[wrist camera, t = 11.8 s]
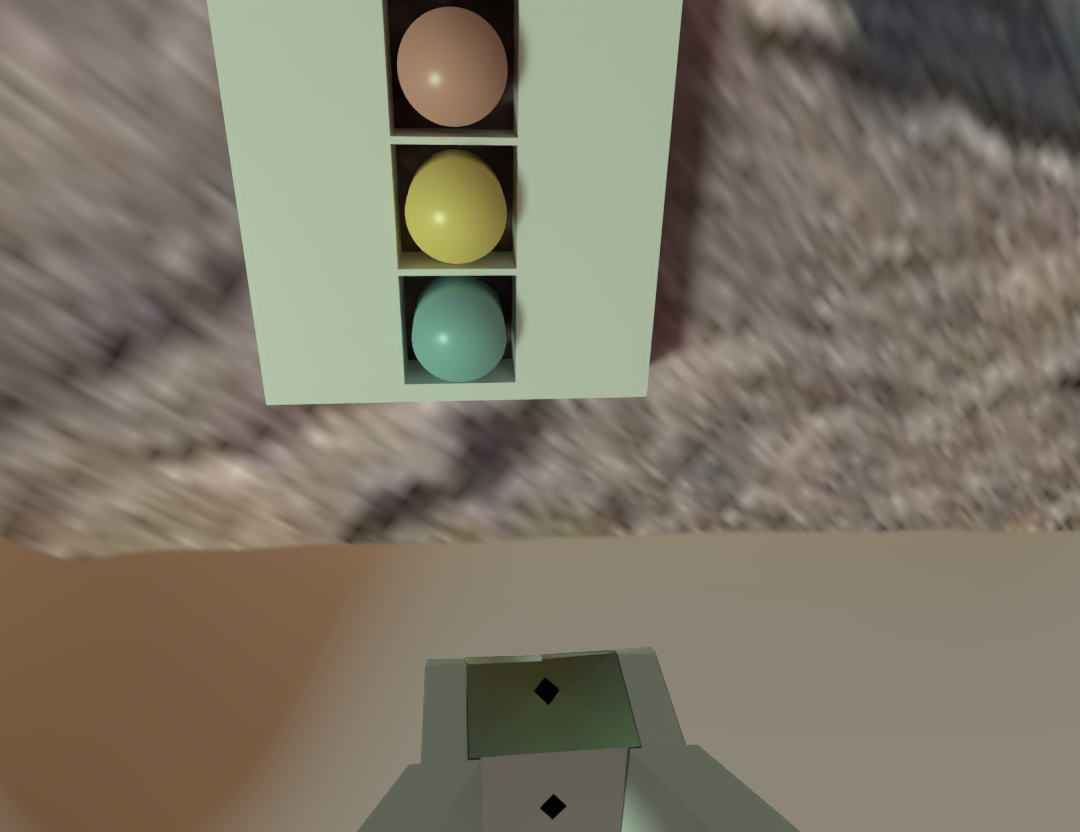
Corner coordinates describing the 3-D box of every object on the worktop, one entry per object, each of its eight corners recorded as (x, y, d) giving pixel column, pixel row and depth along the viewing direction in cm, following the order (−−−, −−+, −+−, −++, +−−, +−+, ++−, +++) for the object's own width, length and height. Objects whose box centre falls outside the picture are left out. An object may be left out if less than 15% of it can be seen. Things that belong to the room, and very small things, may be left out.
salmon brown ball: (502, 10, 32) (507, 8, 29) (502, 118, 34) (507, 127, 31) (399, 7, 32) (393, 4, 29) (405, 117, 34) (400, 126, 31)
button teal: (502, 270, 37) (506, 292, 34) (502, 353, 39) (506, 381, 36) (413, 271, 37) (409, 293, 34) (417, 354, 39) (414, 383, 35)
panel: (666, -23, 33) (685, -28, 30) (633, 372, 41) (646, 396, 38) (222, -38, 31) (200, -44, 28) (279, 379, 39) (266, 405, 36)
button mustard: (502, 149, 35) (507, 161, 32) (502, 243, 36) (506, 263, 33) (406, 148, 34) (402, 160, 31) (411, 243, 36) (407, 264, 33)
